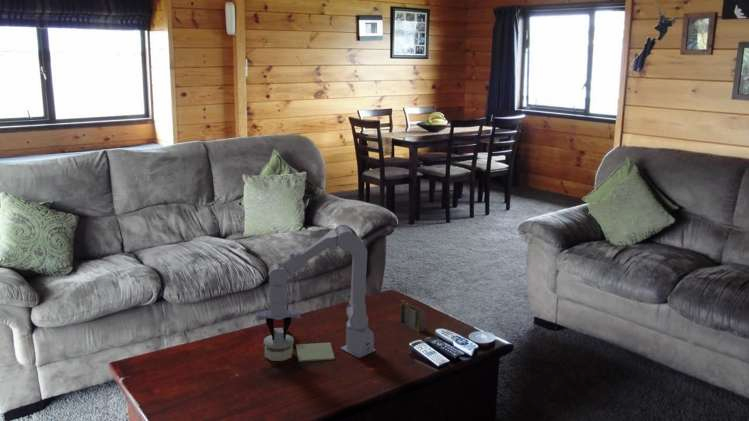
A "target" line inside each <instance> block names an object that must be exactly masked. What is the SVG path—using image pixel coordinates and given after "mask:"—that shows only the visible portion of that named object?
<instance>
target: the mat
mask: <svg viewBox="0 0 749 421" xmlns="http://www.w3.org/2000/svg"><path fill="white" fill-rule="evenodd" d="M295 347H296V353H297V354H296V355H297V360H298V363H299V362H311V361H312V362H313V361H315V362H316V361H330V360H331V361H332V360H333V361H334V360H335V359H336V358H335V355H334V354H335V353H334V351H333V348H332V343H331V342H318V343H316V342H315V343H313V342H312V343H297V344H295Z"/></svg>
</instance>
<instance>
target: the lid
mask: <svg viewBox="0 0 749 421" xmlns="http://www.w3.org/2000/svg"><path fill="white" fill-rule="evenodd" d="M294 343H295V338H294V336H292V335H290V334H286V338H285V339H284V336H283V328H274V340H272V335H271V334H270V335H268V336H266V337H265V338H264V339H263V344H264V347H265V346H266V347H268V348H272V349H283V348H287V347H289V346H291V345H292V344H293V345H294Z"/></svg>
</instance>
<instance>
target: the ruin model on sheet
mask: <svg viewBox="0 0 749 421" xmlns="http://www.w3.org/2000/svg"><path fill="white" fill-rule="evenodd" d="M400 301H401V302H402V303H401V304H400V322H403V324H404V325H405V326H407V327H409V328H411V329H412V330H414V331H416V332H417V331H418V332H417V333H421V332H424V331H425V323H426V322H425V321H426V320H425V319H426V312H425V311H423V310H421V309H419V308H418V307H415V306H414V305H411V304H410V303H409V302H408V301H407V300H404V299H400Z"/></svg>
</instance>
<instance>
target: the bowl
mask: <svg viewBox="0 0 749 421" xmlns="http://www.w3.org/2000/svg"><path fill="white" fill-rule="evenodd" d="M293 345H294V343H293V344H292V345H291V346H289V347H287V348H283V349H272V348H268V347H266V346H265V345H264V358H266V359H268V360H270V361H271V362H272V361H273V362H274V361H275V362H276V361H280V362H283V361H286V360H289V359H291V358H292V356H293V353H294V347H293Z"/></svg>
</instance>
